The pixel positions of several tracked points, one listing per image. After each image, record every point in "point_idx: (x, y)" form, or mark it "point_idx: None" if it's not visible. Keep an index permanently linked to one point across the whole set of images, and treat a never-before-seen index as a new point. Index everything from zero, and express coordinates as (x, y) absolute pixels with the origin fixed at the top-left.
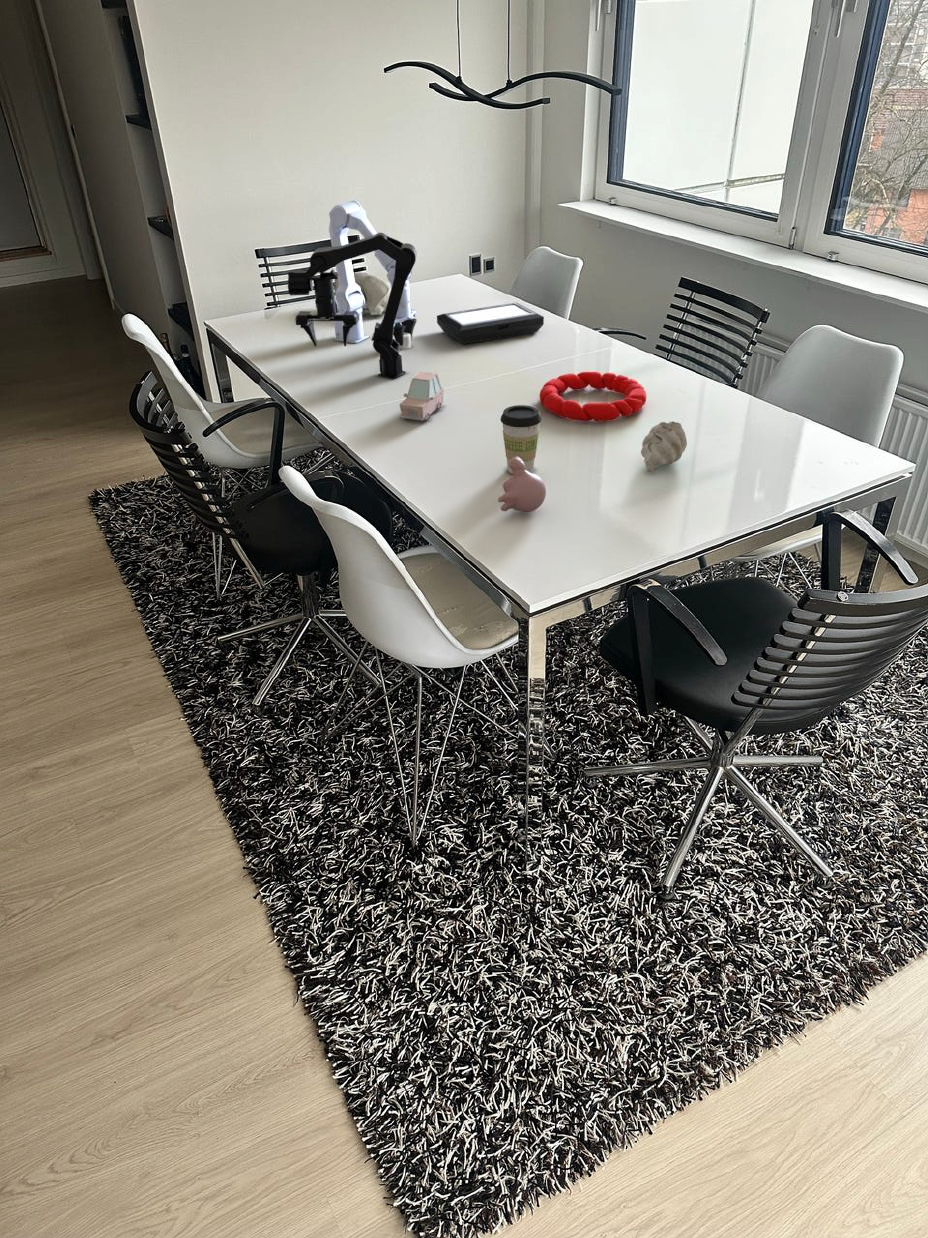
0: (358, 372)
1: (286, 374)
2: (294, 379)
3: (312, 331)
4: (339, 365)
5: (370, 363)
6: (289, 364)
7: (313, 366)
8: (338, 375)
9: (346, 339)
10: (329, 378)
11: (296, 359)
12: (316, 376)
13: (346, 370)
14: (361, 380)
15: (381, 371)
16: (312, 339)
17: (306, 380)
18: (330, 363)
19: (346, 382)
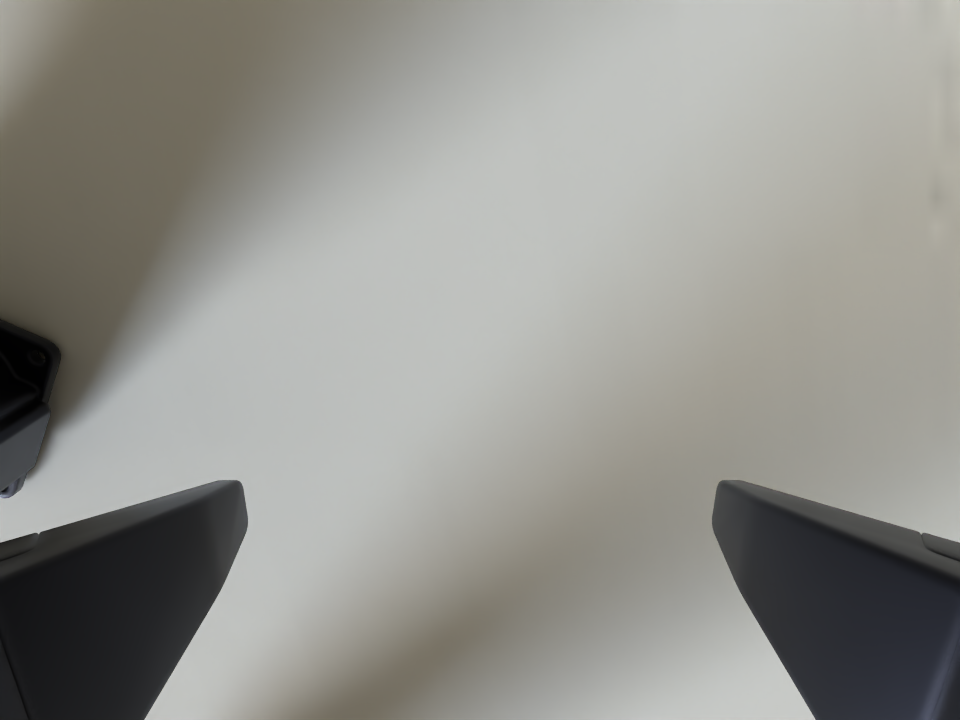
0: (281, 441)
1: (936, 392)
2: (857, 261)
3: (922, 675)
4: (490, 592)
5: (246, 630)
6: None
7: (705, 572)
8: (444, 368)
9: (95, 517)
10: (514, 290)
11: None
12: (648, 342)
13: (402, 487)
14: (182, 235)
15: (16, 388)
16: (835, 514)
17: (734, 233)
18: (573, 631)
19: (316, 176)
